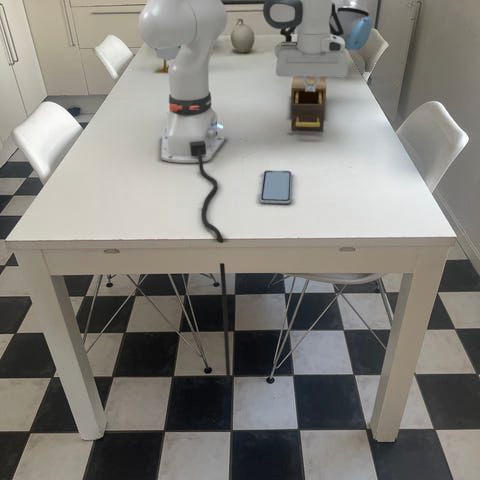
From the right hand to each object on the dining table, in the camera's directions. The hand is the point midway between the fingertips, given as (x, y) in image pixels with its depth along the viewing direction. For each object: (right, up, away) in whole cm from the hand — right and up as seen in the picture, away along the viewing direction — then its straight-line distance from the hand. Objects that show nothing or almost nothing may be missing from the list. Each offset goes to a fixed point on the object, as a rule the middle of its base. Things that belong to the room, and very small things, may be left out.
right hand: (310, 56), depth 171 cm
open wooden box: (-1, -16, +4) cm, 16 cm away
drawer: (-2, -24, -9) cm, 26 cm away
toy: (-51, +9, +41) cm, 66 cm away
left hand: (-3, -17, -21) cm, 27 cm away
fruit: (-22, +24, +62) cm, 70 cm away
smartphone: (-14, -48, -41) cm, 65 cm away
